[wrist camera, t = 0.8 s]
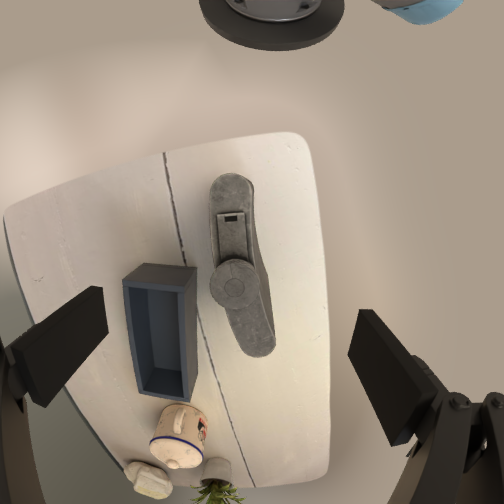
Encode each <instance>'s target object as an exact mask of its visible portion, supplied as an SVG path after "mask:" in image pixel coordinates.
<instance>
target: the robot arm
mask: <svg viewBox="0 0 504 504" xmlns="http://www.w3.org/2000/svg"><path fill="white" fill-rule="evenodd" d="M321 1H322V0H225V2H226V4H227V5H228V6H229V7H230V8H231V9H232V10H233V11H234V12H235V13H237V14H238V15H240V16H242V17H244V18H246V19H249V20H252V21H256V22H260V23H266V24H288V23H294V22H298V21H301V20H304V19H306V18H308V17H310V16H311V15H312V14H314V13H315V12H316V11H317V9H318V8H319V6H320V3H321ZM372 1H374V2H375V3H377V4H379V5H380V6H382V8H383V9H385V10H387V11H391V12H393V13H395V14H396V15H398V16H400V17H401V18H403V19H405V20H406V21H408V22H410V23H412V24H418V25H421V24H423V25H425V24H429V23H433V22H436V21H438V20H440V19H442V18H443V17H445V16H447V15H448V14H450V13H451V12H452V11H454V10H455V9H456V8H457V7H459V6H460V5H461V4H462V2H463V0H372ZM108 333H109V331H108V325H107V318H106V311H105V304H104V295H103V287H97V286H90V287H88V288H87V289H85V290H84V291H83V292H81V293H80V294H78V295H77V296H76V297H74V298H73V299H71V300H70V301H69V302H67V303H66V304H64V305H63V306H62V307H60V308H59V309H58V310H56V311H55V312H54V313H52V314H51V315H50V316H48V317H47V318H46V319H44V320H43V321H42V322H40V323H38V324H35V325H33V326H32V327H31V328H30V329H28V330H27V332H25V333H23V334H22V336H19V337H18V338H17V339H16V340H14V341H13V342H12V343H11V344H9V345H8V346H7V347H6V348H4V346H3V343H2V340H1V338H0V504H46V503H45V500H44V497H43V493H42V490H41V486H40V482H39V478H38V474H37V470H36V466H35V461H34V456H33V450H32V445H31V438H30V431H29V423H28V413H27V402H26V399H25V397H24V395H25V394H26V393H27V392H28V393H29V395H30V397H31V399H32V401H33V402H34V403H36V404H38V405H40V406H42V407H44V408H46V407H47V406H48V404H49V403H50V402H51V401H52V400H53V398H54V397H55V396H56V395H57V393H58V392H59V391H60V390H61V388H62V387H63V386H64V385H65V384H66V382H67V381H68V380H69V379H70V377H71V376H72V375H73V374H74V373H75V372H76V370H77V369H78V368H79V367H80V366H81V364H82V363H83V362H84V361H85V360H86V359H87V357H88V356H89V355H90V354H91V353H92V352H93V350H94V349H95V348H96V347H97V346H98V345H99V344H100V342H101V341H102V340H103V339H104V338H105V337H106V336H107V335H108ZM348 357H349V359H350V361H351V363H352V365H353V367H354V369H355V371H356V373H357V375H358V377H359V379H360V381H361V383H362V385H363V387H364V389H365V391H366V394H367V396H368V398H369V400H370V402H371V404H372V406H373V408H374V410H375V412H376V415H377V417H378V419H379V421H380V423H381V425H382V428H383V430H384V432H385V434H386V436H387V439H388V441H389V443H390V445H391V447H392V446H397V445H401V444H406V443H408V442H409V440H410V439H411V437H412V436H413V434H414V433H415V435H416V437H417V438H418V440H417V441H416V443H415V444H414V446H413V447H412V449H411V450H410V451H409V453H408V454H407V455H406V457H409V455H410V457H409V459H408V461H407V464H406V466H405V468H404V471H403V473H402V475H401V477H400V479H399V482H398V484H397V486H396V488H395V490H394V492H393V494H392V496H391V498H390V499H389V501H388V503H387V504H504V395H503V394H501V393H497V392H491V393H489V394H487V396H486V398H485V399H484V401H483V403H471V401H470V400H469V398H467V397H466V396H465V395H463V394H461V393H457V392H451V393H450V392H449V391H448V390H447V389H446V387H445V386H444V385H443V384H442V383H441V381H440V380H439V379H438V378H437V376H436V375H434V373H433V372H432V370H431V369H429V367H428V365H427V364H426V363H425V362H424V361H423V360H422V359H420V358H418V357H417V356H416V355H410V353H409V352H408V351H407V350H406V348H405V347H404V346H403V345H402V344H401V342H400V341H399V340H398V339H397V338H396V336H395V335H394V334H393V333H392V332H391V330H390V329H389V328H388V327H387V326H386V325H385V323H384V322H383V321H382V320H381V319H380V318H379V317H378V315H377V314H376V313H375V312H374V311H373V310H371V309H369V310H368V309H359V313H358V317H357V321H356V325H355V329H354V333H353V336H352V340H351V344H350V348H349V351H348ZM486 441H487V447H486V449H485V447H484V444H485V442H486Z"/></svg>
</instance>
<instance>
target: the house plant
mask: <svg viewBox="0 0 504 504" xmlns="http://www.w3.org/2000/svg"><path fill="white" fill-rule="evenodd" d="M200 485H201V486H202V487H204V488H205V489H203V490H201V491H198V492H199V493H201V494H203V493H204V494H203V495H202V496H201V497H199V498H196V499H193V500H192V501H197V500H198V501H200V500H201V501H202V500H203V499H204V498H205V497H206V496H207V495H208V494H209V493H210V492H211V494H210V496H209V498H208V500H207V503H206V504H226V503H225V501H224V500H223V498H225V499H226V501H227V502H228V504H230V503H229V501H228V500H227V498H230V499H232V500H235V501H236V502H238V503H239V504H241V503H240V502H239V501H242V500H244V499H245V498H241V499H236V498H235V497H237V496H232V495H231V494H230V493H234V492H236V489H237V488H234V489H232V488H233V487H234V484H233V476H232V469H231V463H230V462H229V461H228V460H226V459H222V458H211V459H209V460H208V461H207V464H206V466H205V469H204V471H203V474H202V477H201V479H200ZM190 486H191V485H190ZM191 488H201V487H193V486H191ZM225 491H226V492H227V493H228V494H229V495H226V494H223V492H224V493H225ZM236 495H237V494H236ZM198 501H197V502H198ZM201 501H200V502H201ZM200 502H199V503H200ZM199 503H197V504H199Z"/></svg>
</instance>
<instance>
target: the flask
mask: <svg viewBox="0 0 504 504" xmlns="http://www.w3.org/2000/svg"><path fill="white" fill-rule="evenodd" d="M253 203H254V187H253V184H252V183H251V181H249V180H248V179H246V178H244V177H243V176H241V175H238V174H235V173H228V174H224V175H222V176H220V177H218V178H217V179H216V180H215V181H214V183H213V184H212V186H211V189H210V233H211V244H212V253H213V259H214V266H215V271H214V273H213V275H212V277H211V279H210V290H211V294H212V297H213V298H214V299H215V301H216V302H218V304H219V305H221V306H222V307H224V308H225V311H226V314H227V317H228V320H229V323H230V325H231V328H232V330H233V333H234V335H235V337H236V339H237V341H238V343H239V346H240V348H241V349H242V351H243V352H244V353H245V354H247V355H249V356H251V357H264V356H267V355H268V354H270V353H271V352H272V351H273V350H274V348H275V346H276V338H275V330H274V321H273V313H272V305H271V297H270V289H269V281H268V275H267V272H266V269H265V267H264V264H263V261H262V257H261V254H260V250H259V245H258V241H257V235H256V228H255V221H254V205H253Z"/></svg>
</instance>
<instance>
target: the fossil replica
mask: <svg viewBox="0 0 504 504" xmlns="http://www.w3.org/2000/svg"><path fill="white" fill-rule="evenodd" d="M124 473H125V474H126V476H127V478H128V479H129V480H130V481H132V483H133V484H134V489H135V491H137V492H139V493H141V494H144V495H147V496H150V497H153V498H155V499H162V498H166V497H167V496H169V495H170V494H171V492H172V490H173V487H172V484H171V481H170V479H169V478H168V477H167V474H166V473H165V472H164V471H163V470H161V469H159V468H156V467H152V466H149V465H148V464H146V463H143V462H132V463H130V464H129V465H127V466H125V469H124Z"/></svg>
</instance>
